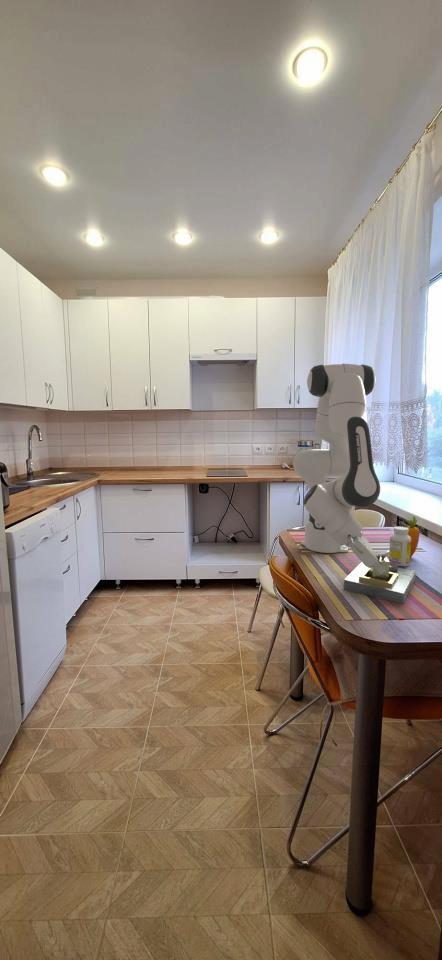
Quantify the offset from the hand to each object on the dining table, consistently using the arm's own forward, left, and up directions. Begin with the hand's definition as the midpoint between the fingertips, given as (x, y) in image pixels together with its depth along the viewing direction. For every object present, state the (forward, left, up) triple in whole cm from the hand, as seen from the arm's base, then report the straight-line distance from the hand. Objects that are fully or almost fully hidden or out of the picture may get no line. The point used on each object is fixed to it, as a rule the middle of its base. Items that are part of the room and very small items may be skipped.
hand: (380, 565), depth 112 cm
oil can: (0, 0, -7) cm, 7 cm away
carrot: (-36, +3, -7) cm, 37 cm away
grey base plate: (-4, 0, -7) cm, 8 cm away
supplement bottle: (-26, +1, -7) cm, 27 cm away
